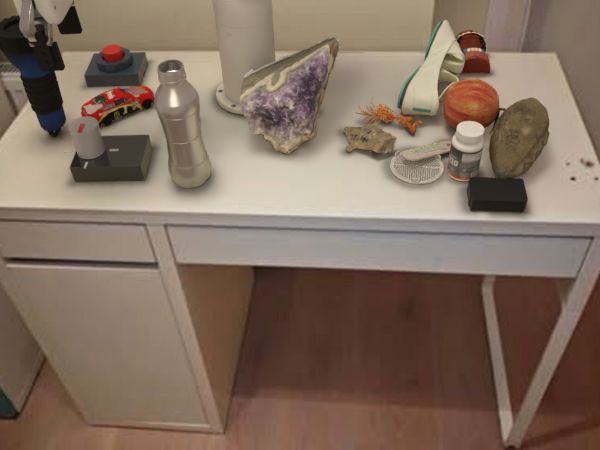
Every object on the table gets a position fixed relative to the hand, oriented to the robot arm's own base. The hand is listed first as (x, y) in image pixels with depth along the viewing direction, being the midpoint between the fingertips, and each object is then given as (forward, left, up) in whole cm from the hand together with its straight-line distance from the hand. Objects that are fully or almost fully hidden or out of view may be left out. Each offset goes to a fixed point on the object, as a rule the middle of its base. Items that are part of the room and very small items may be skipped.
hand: (63, 50), depth 91 cm
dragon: (-48, -9, -21) cm, 53 cm away
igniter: (+2, -27, -20) cm, 34 cm away
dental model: (-64, -23, -18) cm, 70 cm away
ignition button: (+2, -27, -17) cm, 32 cm away
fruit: (-56, -8, -16) cm, 58 cm away
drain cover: (-51, +3, -21) cm, 55 cm away
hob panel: (-3, 0, -20) cm, 21 cm away
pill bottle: (-58, +4, -21) cm, 61 cm away
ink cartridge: (-65, +11, -19) cm, 69 cm away
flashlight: (+9, -9, -21) cm, 24 cm away
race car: (-1, -15, -21) cm, 25 cm away
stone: (-67, +1, -20) cm, 70 cm away
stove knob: (0, 0, -17) cm, 17 cm away
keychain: (-52, -2, -19) cm, 56 cm away
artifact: (-39, -7, -20) cm, 45 cm away
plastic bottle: (-16, +4, -21) cm, 26 cm away
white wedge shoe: (-53, -21, -16) cm, 59 cm away
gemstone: (-30, -14, -14) cm, 36 cm away
